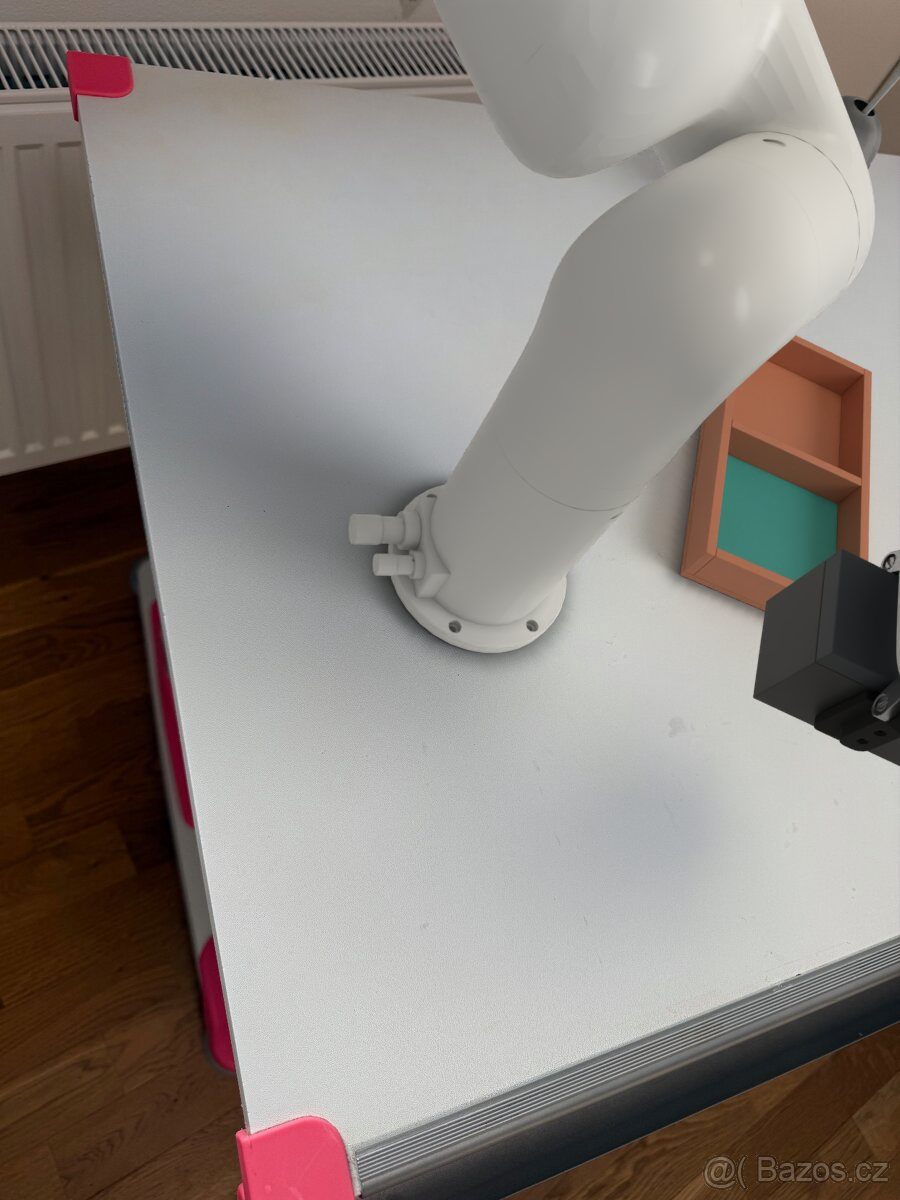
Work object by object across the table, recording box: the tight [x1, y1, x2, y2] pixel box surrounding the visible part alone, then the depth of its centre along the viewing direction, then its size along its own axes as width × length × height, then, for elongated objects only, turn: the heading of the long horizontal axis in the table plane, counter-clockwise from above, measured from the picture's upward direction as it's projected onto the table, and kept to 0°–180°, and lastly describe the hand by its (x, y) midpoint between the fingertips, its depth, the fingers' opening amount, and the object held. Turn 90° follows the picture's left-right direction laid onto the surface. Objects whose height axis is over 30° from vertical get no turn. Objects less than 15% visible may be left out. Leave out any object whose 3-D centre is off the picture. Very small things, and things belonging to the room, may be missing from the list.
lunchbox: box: [752, 549, 900, 767], centre depth 48 cm, size 9×6×6 cm, turn 73°
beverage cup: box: [841, 68, 900, 170], centre depth 85 cm, size 7×7×20 cm
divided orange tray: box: [679, 334, 873, 612], centre depth 78 cm, size 14×26×4 cm, turn 166°
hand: (845, 675), depth 50 cm, fingers closed on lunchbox, 6 cm apart
